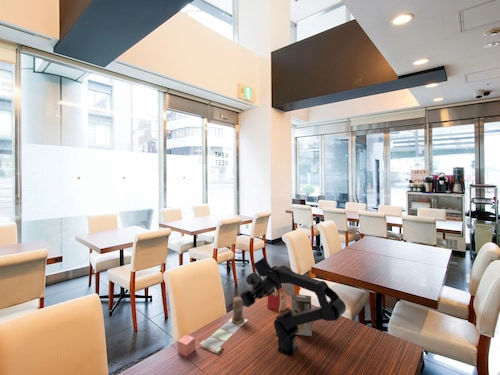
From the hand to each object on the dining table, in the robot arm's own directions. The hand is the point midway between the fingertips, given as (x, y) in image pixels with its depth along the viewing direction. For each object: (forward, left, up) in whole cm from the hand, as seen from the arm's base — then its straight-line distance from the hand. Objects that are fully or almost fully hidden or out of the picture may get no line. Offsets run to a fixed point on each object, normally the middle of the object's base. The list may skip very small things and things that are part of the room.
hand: (248, 301), depth 121 cm
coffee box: (-22, -11, -14) cm, 28 cm away
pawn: (+7, -1, -12) cm, 14 cm away
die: (+15, +26, -13) cm, 33 cm away
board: (+7, +8, -13) cm, 17 cm away
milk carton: (-3, -24, -14) cm, 27 cm away
